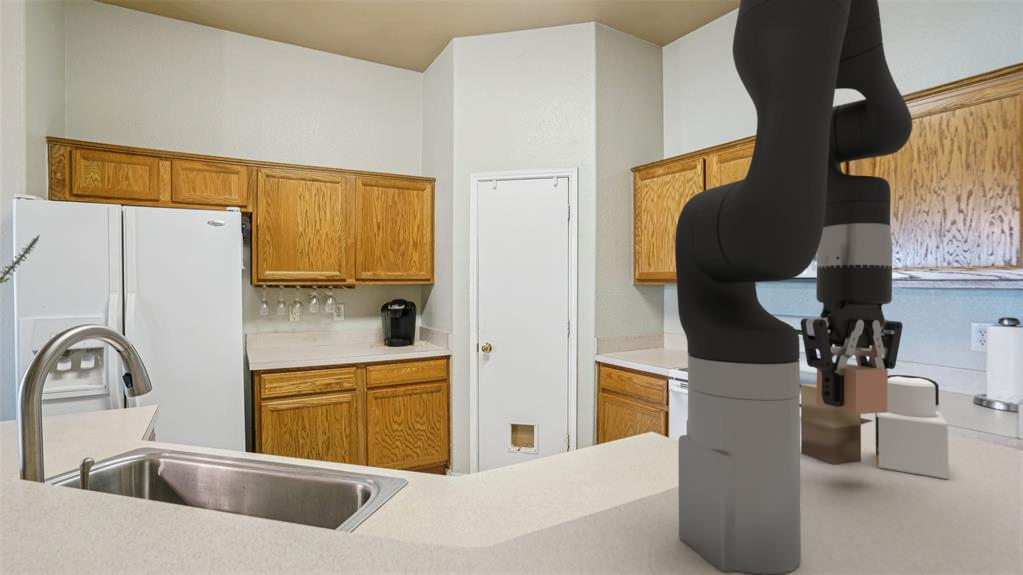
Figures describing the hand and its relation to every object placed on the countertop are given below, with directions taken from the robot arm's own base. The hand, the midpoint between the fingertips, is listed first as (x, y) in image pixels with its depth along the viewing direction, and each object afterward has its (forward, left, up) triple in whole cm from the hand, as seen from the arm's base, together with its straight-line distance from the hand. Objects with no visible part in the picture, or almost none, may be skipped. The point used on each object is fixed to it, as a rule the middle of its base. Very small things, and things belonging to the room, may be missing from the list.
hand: (851, 403), depth 59 cm
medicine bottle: (+14, +3, -10) cm, 17 cm away
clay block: (0, 0, -1) cm, 1 cm away
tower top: (+7, +9, -5) cm, 12 cm away
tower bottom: (+7, +9, -10) cm, 15 cm away
